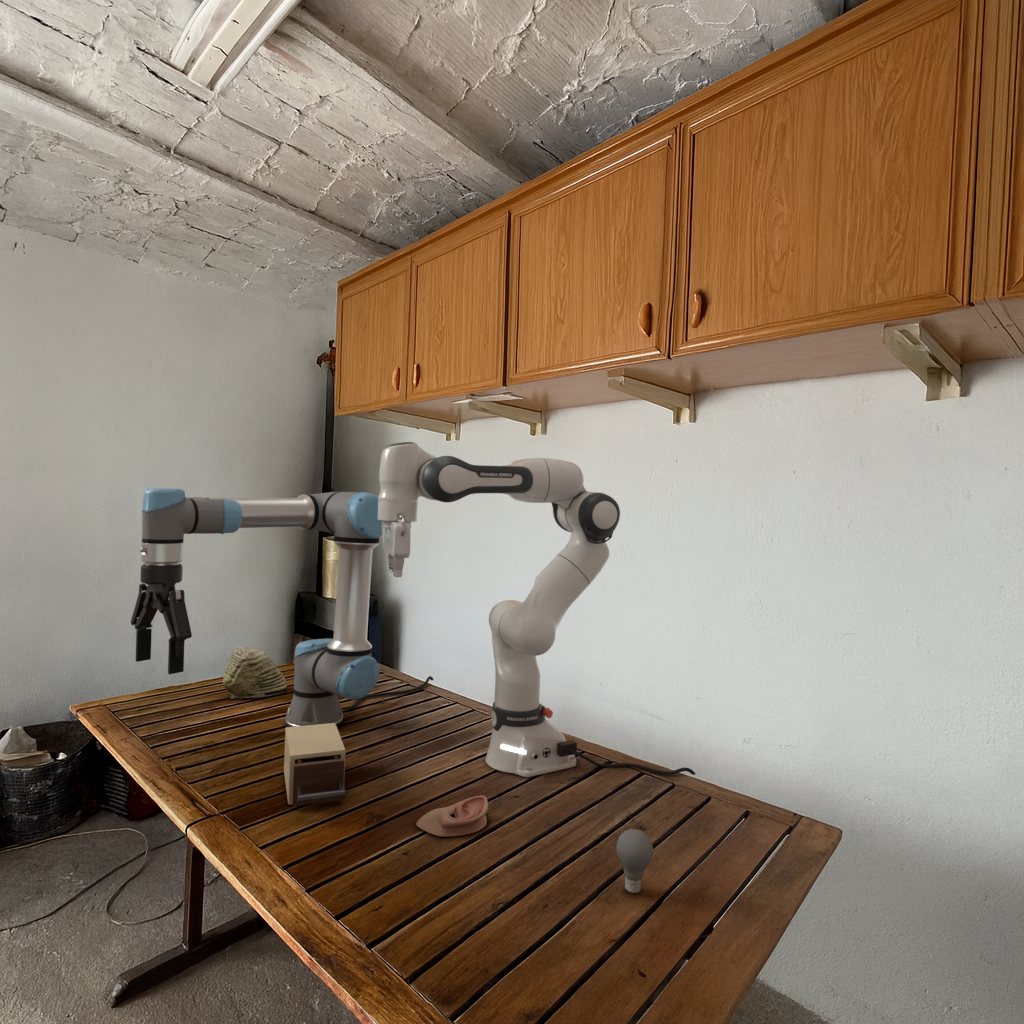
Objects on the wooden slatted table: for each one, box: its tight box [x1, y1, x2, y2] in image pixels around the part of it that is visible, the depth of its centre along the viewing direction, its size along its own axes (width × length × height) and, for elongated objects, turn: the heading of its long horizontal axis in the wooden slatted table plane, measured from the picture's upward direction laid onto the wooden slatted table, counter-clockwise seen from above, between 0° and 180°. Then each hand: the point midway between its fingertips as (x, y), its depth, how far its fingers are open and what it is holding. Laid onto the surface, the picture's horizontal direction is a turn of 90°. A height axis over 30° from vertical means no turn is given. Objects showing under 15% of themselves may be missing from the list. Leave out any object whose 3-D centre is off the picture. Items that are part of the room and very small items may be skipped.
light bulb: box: [615, 828, 654, 894], centre depth 106 cm, size 6×6×10 cm
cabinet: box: [283, 723, 346, 806], centre depth 139 cm, size 17×11×10 cm, turn 23°
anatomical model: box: [415, 795, 489, 838], centre depth 125 cm, size 13×4×12 cm
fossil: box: [222, 646, 288, 699], centre depth 198 cm, size 9×18×15 cm, turn 132°
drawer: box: [291, 755, 347, 808], centre depth 133 cm, size 21×10×8 cm, turn 23°
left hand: (158, 666), depth 130 cm, fingers open, 13 cm apart
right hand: (394, 574), depth 144 cm, fingers open, 8 cm apart
